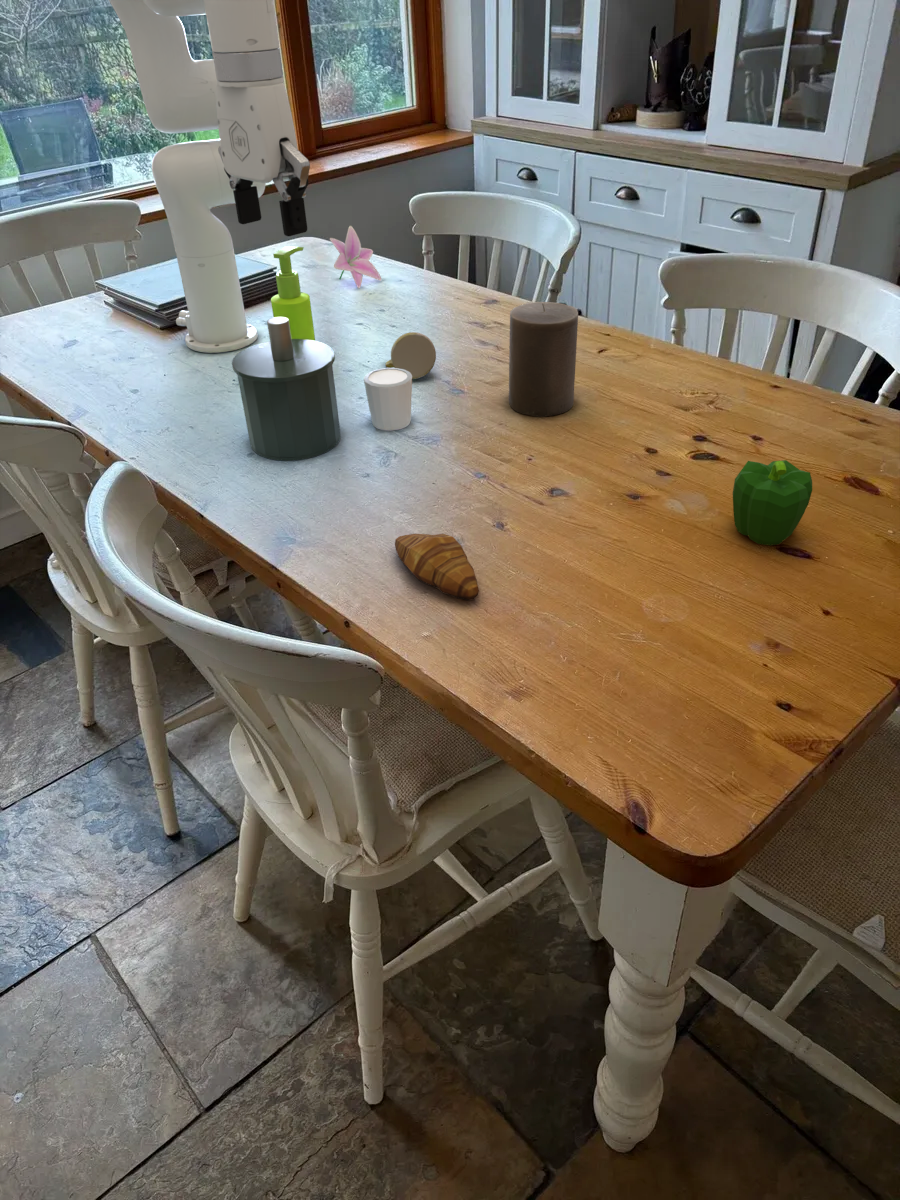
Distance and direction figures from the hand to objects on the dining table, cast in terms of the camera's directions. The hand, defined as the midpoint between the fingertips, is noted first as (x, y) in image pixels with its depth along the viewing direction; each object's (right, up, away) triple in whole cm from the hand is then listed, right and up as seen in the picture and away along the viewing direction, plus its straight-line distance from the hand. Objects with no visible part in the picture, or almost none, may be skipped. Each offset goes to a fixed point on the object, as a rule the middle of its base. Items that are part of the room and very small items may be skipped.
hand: (272, 227), depth 109 cm
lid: (0, -15, +7) cm, 17 cm away
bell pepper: (+58, -39, -9) cm, 71 cm away
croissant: (+21, -44, -13) cm, 51 cm away
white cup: (+14, -21, +18) cm, 31 cm away
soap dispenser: (-1, -11, +32) cm, 34 cm away
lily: (+3, +19, +70) cm, 73 cm away
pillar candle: (+36, -17, +21) cm, 45 cm away
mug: (+16, -10, +33) cm, 38 cm away
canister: (0, -24, +14) cm, 28 cm away
